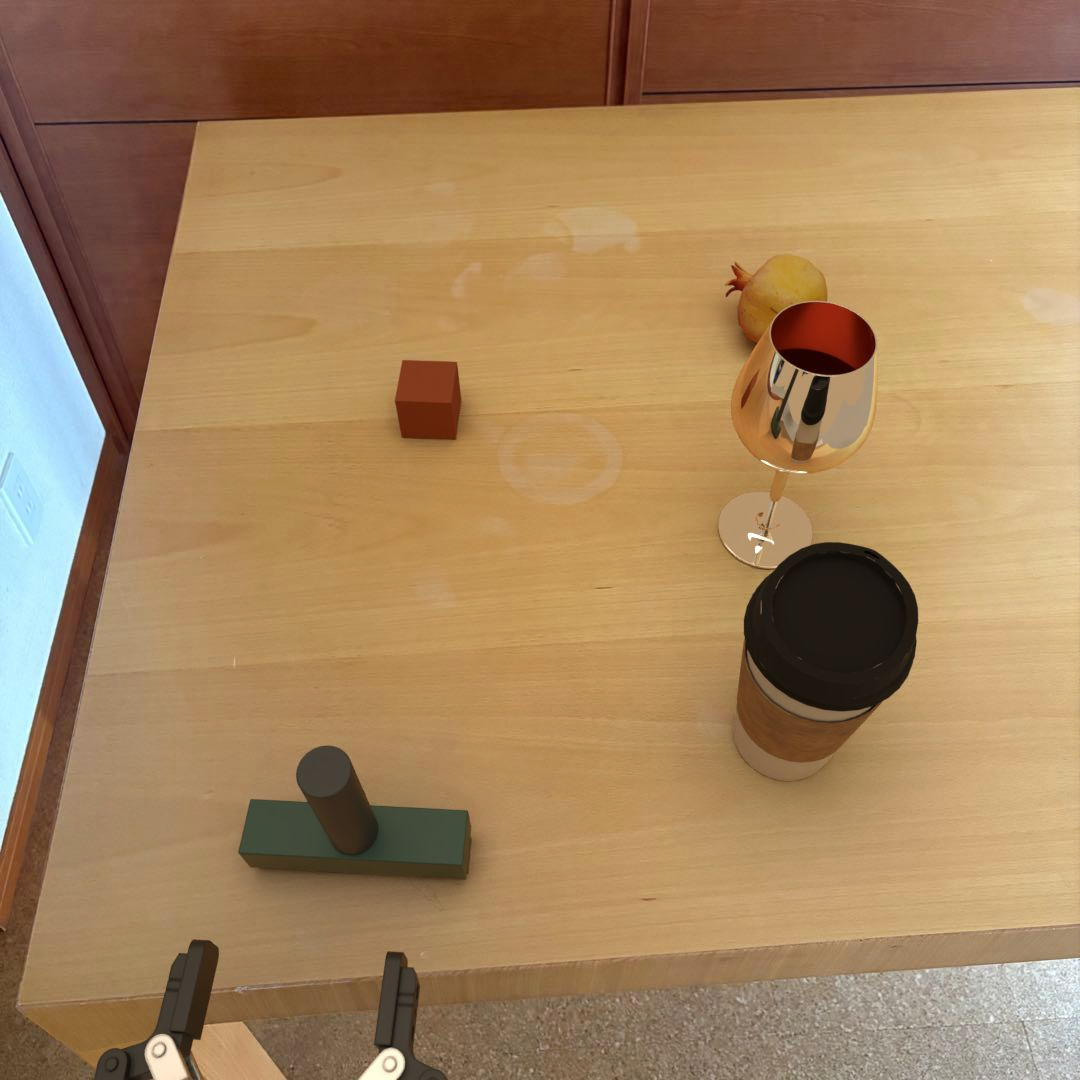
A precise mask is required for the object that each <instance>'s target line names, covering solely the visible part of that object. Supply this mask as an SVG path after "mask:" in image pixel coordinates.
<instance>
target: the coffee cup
mask: <svg viewBox="0 0 1080 1080" xmlns="http://www.w3.org/2000/svg"><path fill="white" fill-rule="evenodd" d="M918 626H919V605H918V602H917V597H916V595H915V592H914V590H913V588H912V587H911V584H910V583H909V581H908V580H907V578H906V577H905V575H903V573H902V572H901V571H900V570H899V569H898V568H897V567H896V566H895V565H894V564H893V563H892V562H891V561H889V559H887V558H886V557H885V556H884V555H882V553H880V552H879V551H877V550H875V549H872V548H869V547H866V546H862V545H859V544H853V543H848V542H847V543H846V542H840V541H824V542H818V543H817V542H816V543H811V545H810V546H807V547H804V548H801V549H800V550H798V551H796V552H795V553H793V554H791V555H789V556H788V557H787V558H786V559H785V560H784V561H782V562H781V563H780V564H779V565H778V566H777V567H776V569H773V571H772V572H771V573H769V574H768V575H767V576H766V577H765V578H763V580H762V581H761V582H760V583H759V585H758V586H757V587H756V588H755V590H754V592H753V593H752V595H751V596H750V598H749V601H748V603H747V605H746V607H745V612H744V617H743V637H744V638H743V642H742V644H743V645H742V652H741V660H740V669H739V677H738V685H737V693H736V704H735V711H734V715H733V723H732V735H733V740H734V744H735V747H736V748H737V751H738V752H739V754H740V756H741V757H742V758H743V760H744V761H745V763H747V764H748V765H749V766H750V767H751V768H752V769H753V770H754V771H756V772H757V773H758V774H761V775H763V776H765V777H767V778H770V779H773V780H777V781H782V782H783V781H784V782H795V781H801V780H804V779H808V778H810V777H811V776H813V775H815V774H816V773H817V772H819V771H820V770H821V769H822V768H823V767H824V766H825V765H826V764H827V763H828V762H829V761H830V759H831V758H832V757H833V756H834V754H835V753H836V752H837V751H838V750H839V749H840V748H841V747H842V746H844V744H845V743H846V742H847V741H848V740H849V739H850V738H851V737H852V736H853V734H855V733H856V731H857V730H858V729H859V728H860V727H861V726H862V725H863V724H864V723H865V722H866V721H867V720H868V718H870V716H871V715H872V714H873V713H874V712H875V711H876V710H877V709H878V708H879V707H880V706H881V705H882V703H883V702H884V701H886V700H888V699H890V697H892V696H893V695H894V694H895V693H896V692H898V691H899V690H900V688H901V687H902V686H903V684H904V683H905V682H906V680H907V679H908V677H909V676H910V672H911V669H912V667H913V664H914V660H915V658H916V652H917V651H916V649H917V642H918V639H917V634H918Z"/></svg>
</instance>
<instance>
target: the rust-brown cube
mask: <svg viewBox="0 0 1080 1080" xmlns="http://www.w3.org/2000/svg"><path fill="white" fill-rule="evenodd" d="M459 375H460V374H459V367H458V362H457V361H447V360H446V361H443V360H417V359H416V360H414V359H413V360H412V359H402V360H401V366H400V371H399V376H398V381H397V385H396V386H397V387H396V393H395V396H394V397H395V398H394V403H395V409H396V414H397V419H398V424H399V429H400V435H401V438H402V439H403V438H405V439H431V440H456V439H457V434H458V426H459V418H460V411H461V404H462V393H461V384H460V376H459Z"/></svg>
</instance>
